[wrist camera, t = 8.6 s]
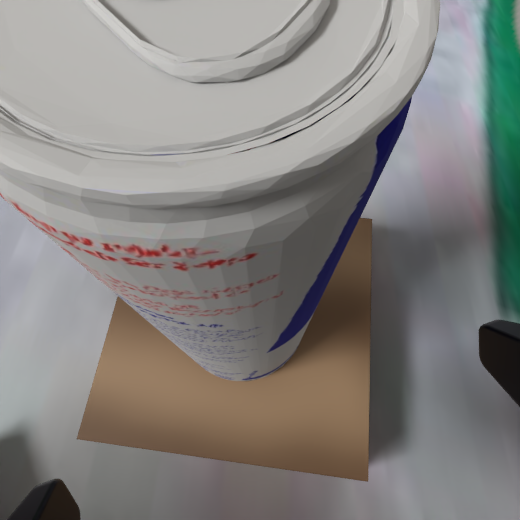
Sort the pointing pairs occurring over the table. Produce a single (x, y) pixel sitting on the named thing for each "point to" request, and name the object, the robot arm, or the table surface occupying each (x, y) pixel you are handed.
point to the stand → (248, 388)
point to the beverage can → (207, 151)
